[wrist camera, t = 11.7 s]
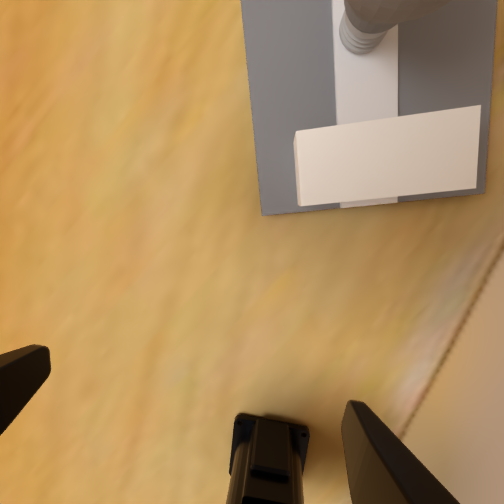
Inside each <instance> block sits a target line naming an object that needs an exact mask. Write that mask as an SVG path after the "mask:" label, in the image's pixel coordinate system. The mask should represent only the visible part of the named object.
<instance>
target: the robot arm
mask: <svg viewBox="0 0 504 504" xmlns="http://www.w3.org/2000/svg"><path fill="white" fill-rule="evenodd" d="M50 372H51V362H50V351H49V348H48V347H46V346H42V345H35V344H34V345H29V346H26V347H23V348H20V349H17V350H13V351H10V352H7V353H4V354H1V355H0V435H1V434H2V433H3V432H4V431H5V430H6V429H7V427H8V426H9V425H10V424H11V423H12V421H13V420H14V419H15V418H16V417H17V415H18V414H19V413H20V412H21V410H22V409H23V408H24V407H25V405H26V404H27V403H28V402H29V400H30V399H31V398H32V397H33V395H34V394H35V393H36V392H37V391H38V389H39V388H40V387H41V386H42V384H43V383H44V382H45V381H46V379H47V378H48V376H49V375H50ZM239 421H242V422H239ZM341 430H342V438H343V445H344V453H345V460H346V467H347V474H348V481H349V488H350V495H351V500H352V504H460V503H459V502H458V501H457V500H456V499H455V498H454V497H453V496H452V494H451V493H450V492H448V490H447V489H446V488H445V487H444V486H443V485H442V484H441V483H440V482H439V481H438V480H437V479H436V478H435V477H434V475H433V474H431V473H430V471H429V470H428V469H427V468H426V467H425V466H424V465H423V464H422V463H421V462H420V461H419V460H418V459H417V458H416V457H415V455H414V454H413V453H412V452H411V451H410V450H409V449H408V448H407V447H406V446H405V445H404V444H403V443H402V442H401V441H400V440H399V439H398V437H397V436H396V435H395V434H394V433H393V432H392V431H391V430H390V429H389V428H388V427H387V426H386V425H385V424H384V423H383V422H382V421H381V420H380V418H379V417H378V416H377V415H376V414H375V413H374V412H373V411H372V410H371V409H370V408H369V407H368V406H367V405H366V404H365V403H364V402H361V401H356V400H349V401H348V402H347V405H346V409H345V412H344V416H343V420H342V425H341ZM303 432H304V433H303ZM309 437H310V434H309V429H308V428H307V427H305V426H301V425H296V424H290V423H284V422H279V421H273V420H268V419H262V418H257V417H251V416H246V415H237V416H236V417H235V421H234V429H233V439H232V449H231V458H230V468H229V474H230V476H231V479H230V484H229V490H228V495H227V501H226V504H304V496H303V482H302V475H303V470H304V464H305V459H306V453H307V448H308V442H309Z"/></svg>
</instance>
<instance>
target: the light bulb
mask: <svg viewBox="0 0 504 504" xmlns="http://www.w3.org/2000/svg"><path fill="white" fill-rule="evenodd" d="M450 1H452V0H344V6H345V10H344V13H343V16H342V19H341V22H340V27H339V36H340V40H341V42H342V44H343V45H344V47H345V48H346V49H348V50H349V51H351V52H353V53H366V52H368V51H371V50H372V49H374V48H375V47H376V46H378V45H379V44H380V42H381V41H382V40H383V38H384V37H385V35H386V34H387V32H388V30H389V29H391V28H393V27H394V26H396V25H397V24H398V23H400V22H405V21H410V20H415V19H418V18H421V17H423V16H426V15H428V14H430V13H433V12H434V11H436V10H438V9H439V8H441V7H442V6H444V5H445V4H447V3H449V2H450Z"/></svg>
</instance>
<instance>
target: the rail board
mask: <svg viewBox="0 0 504 504" xmlns="http://www.w3.org/2000/svg"><path fill="white" fill-rule="evenodd" d="M241 9H242V19H243V29H244V39H245V49H246V59H247V69H248V80H249V90H250V100H251V110H252V120H253V130H254V140H255V150H256V161H257V171H258V181H259V191H260V201H261V211H262V216H266V215H275V214H285V213H295V212H305V211H315V210H325V209H335V208H348V207H358V206H368V205H378V204H388V203H398V202H405V201H414V200H424V199H434V198H444V197H454V196H464V195H474V194H484V193H485V181H486V166H487V151H488V136H489V121H490V106H491V91H492V76H493V61H494V45H495V30H496V15H497V0H452V1H450V2H449V3H447V4H445V5H444V6H442V7H441V8H439V9H438V10H436V11H434V12H433V13H430V14H428V15H426V16H423V17H421V18H418V19H415V20H410V21H405V22H400V23H398V24H397V25H396V26H394V27H393V28H391V29H389V30H388V32H387V34H386V35H385V37H384V38H383V40H382V41H381V42H380V44H379V45H378V46H376V47H375V48H374V49H372V50H371V51H368V52H366V53H353V52H351V51H349V50H348V49H346V48H345V47H344V45H343V44H342V42H341V40H340V36H339V27H340V22H341V19H342V16H343V13H344V10H345V6H344V0H241Z"/></svg>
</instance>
